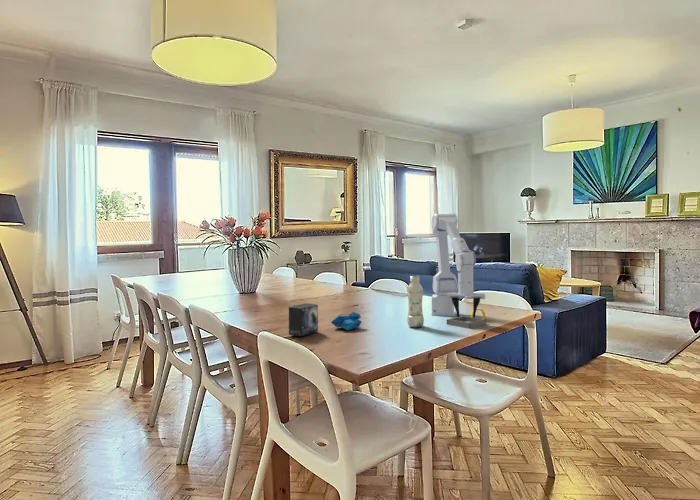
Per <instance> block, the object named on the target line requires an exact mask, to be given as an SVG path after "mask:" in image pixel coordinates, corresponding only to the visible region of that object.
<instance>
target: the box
mask: <svg viewBox="0 0 700 500" xmlns="http://www.w3.org/2000/svg"><path fill="white" fill-rule="evenodd" d="M486 320H487V319H486V318H485V319H482V317H475V318H473V317H471V316H468V315H467V316H466V315H461V316H460V315H459V317H457V316H456V317H455V316H454V317H451V318H447V319H446V325H447V326H454V327H460V328H464V329H470V330H471V329H474V328H477V327H480V326H483V325H486V324H487V321H486Z"/></svg>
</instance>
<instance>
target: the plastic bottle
mask: <svg viewBox="0 0 700 500" xmlns="http://www.w3.org/2000/svg"><path fill="white" fill-rule="evenodd" d="M409 277H410V278H409V281H410V283H409V284H408V286H407V288H406V295H407V299H408V300H407V303H408V309H407V310H408V313H407V320H406V321H407V325H408V327H410V328H422V327H423V326H424V322H425V319H424V314H423V295H424V287H423V285H421V282H420V281H421V279H420V275H410V276H409Z"/></svg>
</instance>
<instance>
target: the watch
mask: <svg viewBox="0 0 700 500" xmlns="http://www.w3.org/2000/svg"><path fill="white" fill-rule="evenodd" d="M476 311H480V312H482V317H481V318H482V319H486V312H485V311H484V309H483V308H482V307H479V306H478V307H477V309H476ZM470 317H473V309H472V310H471V312H470Z"/></svg>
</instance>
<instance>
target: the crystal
mask: <svg viewBox="0 0 700 500" xmlns="http://www.w3.org/2000/svg"><path fill="white" fill-rule="evenodd" d="M361 317H362V316H361V314H360V313H358V312H354V311H351V312H350V313H349V314H348V315H337V316H336V317H334V319H332V320H331V322H330V323H331V324H332V325H333V326H335V327H336V328H338V329H339V328H342V329H344V330H346V331H349V330H352V329H356V328H359V327H360V326H361V324H362V321H361V320H360V318H361Z"/></svg>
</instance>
